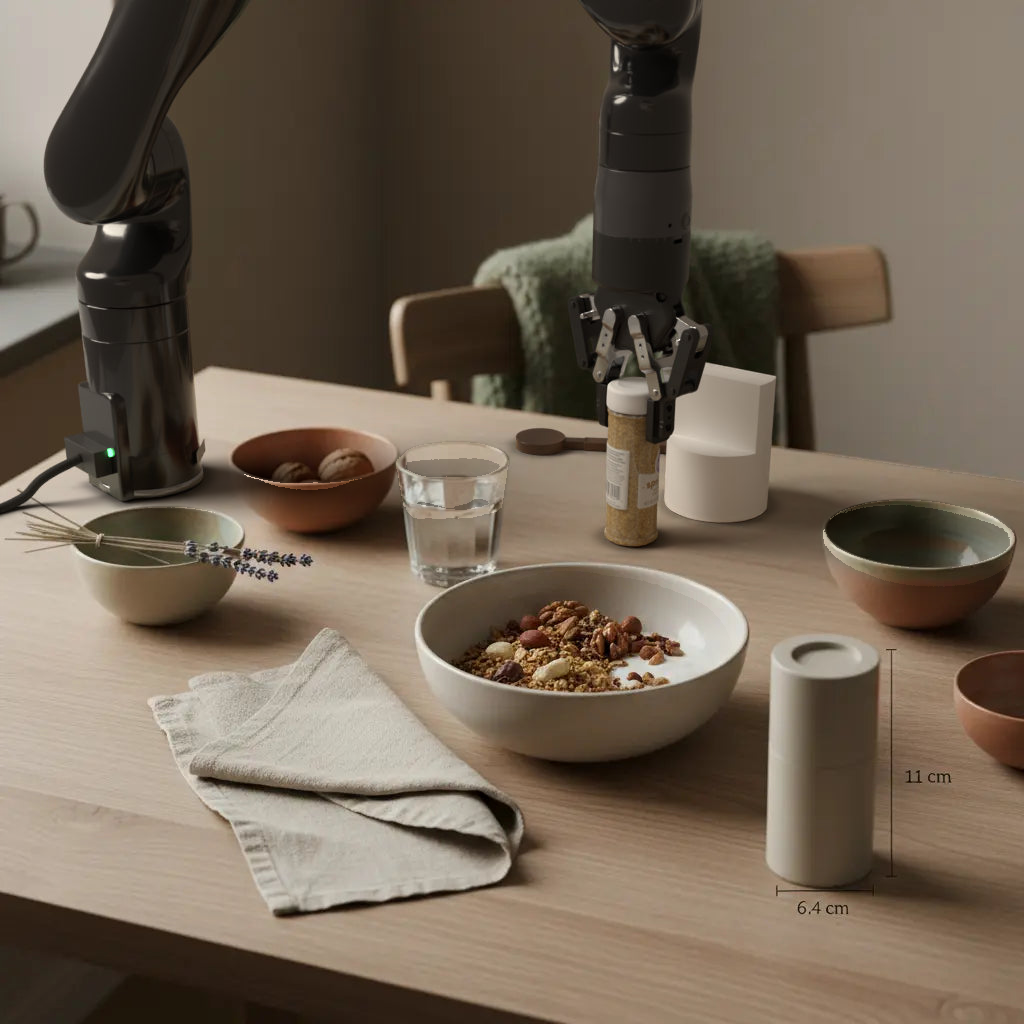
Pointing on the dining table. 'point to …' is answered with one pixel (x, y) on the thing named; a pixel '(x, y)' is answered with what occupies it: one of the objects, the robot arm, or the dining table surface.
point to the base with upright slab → (721, 447)
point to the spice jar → (630, 466)
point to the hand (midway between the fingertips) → (634, 431)
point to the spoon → (559, 442)
